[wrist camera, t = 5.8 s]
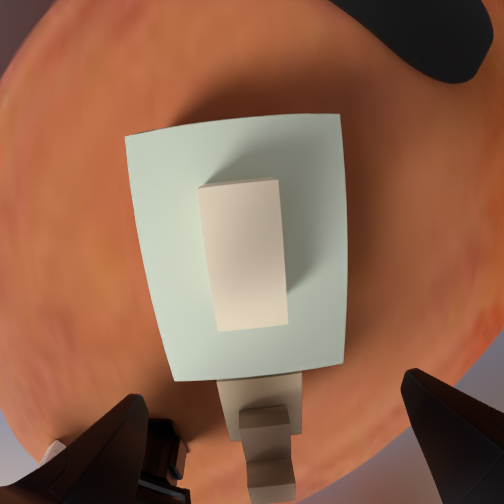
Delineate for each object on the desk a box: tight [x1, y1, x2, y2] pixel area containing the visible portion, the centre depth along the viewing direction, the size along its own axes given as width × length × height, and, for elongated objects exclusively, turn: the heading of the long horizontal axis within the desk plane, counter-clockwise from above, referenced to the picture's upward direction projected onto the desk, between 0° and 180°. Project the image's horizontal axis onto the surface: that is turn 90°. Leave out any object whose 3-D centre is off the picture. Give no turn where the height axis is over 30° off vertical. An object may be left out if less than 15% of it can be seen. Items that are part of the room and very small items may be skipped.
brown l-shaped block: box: [239, 405, 296, 504], centre depth 16 cm, size 3×7×4 cm, turn 6°
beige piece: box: [132, 113, 333, 441], centre depth 18 cm, size 10×20×6 cm, turn 5°
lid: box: [125, 114, 347, 381], centre depth 14 cm, size 10×14×4 cm
